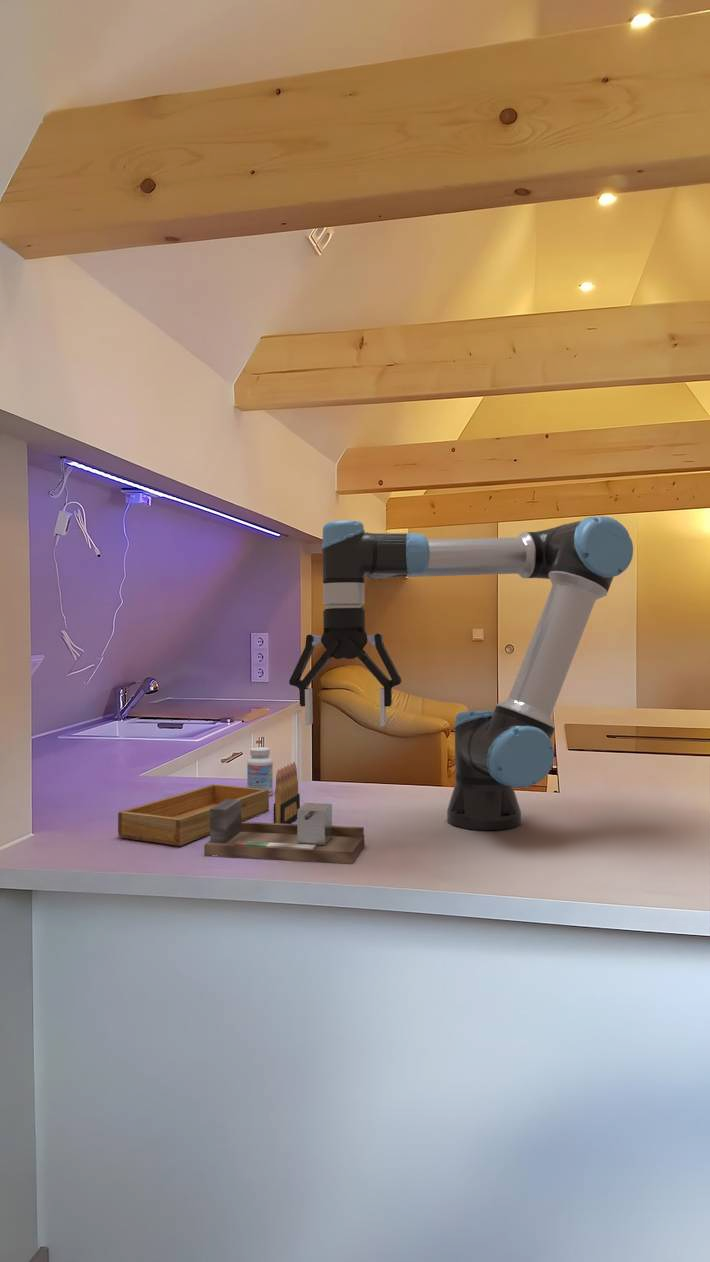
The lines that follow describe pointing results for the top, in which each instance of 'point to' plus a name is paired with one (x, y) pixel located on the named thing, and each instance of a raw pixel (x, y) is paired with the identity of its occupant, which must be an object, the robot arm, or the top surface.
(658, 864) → the top surface
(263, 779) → the pill bottle
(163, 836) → the tray
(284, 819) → the ammunition clip
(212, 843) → the brown tray with block
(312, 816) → the cube with dark rod
